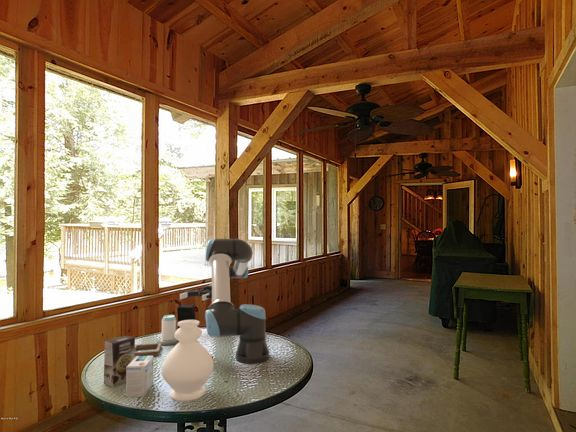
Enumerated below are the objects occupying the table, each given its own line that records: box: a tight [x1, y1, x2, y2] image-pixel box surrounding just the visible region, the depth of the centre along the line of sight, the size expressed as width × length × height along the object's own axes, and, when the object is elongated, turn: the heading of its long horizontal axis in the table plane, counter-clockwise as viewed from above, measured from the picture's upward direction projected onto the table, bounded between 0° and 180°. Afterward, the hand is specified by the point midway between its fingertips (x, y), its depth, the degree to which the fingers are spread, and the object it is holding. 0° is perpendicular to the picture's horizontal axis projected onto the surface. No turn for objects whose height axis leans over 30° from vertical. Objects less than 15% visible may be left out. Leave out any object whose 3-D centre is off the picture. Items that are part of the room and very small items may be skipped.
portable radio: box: [176, 303, 197, 345], centre depth 171 cm, size 8×6×25 cm
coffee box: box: [103, 335, 136, 388], centre depth 142 cm, size 9×6×16 cm
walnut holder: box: [135, 342, 162, 357], centre depth 174 cm, size 12×12×2 cm
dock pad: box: [155, 337, 177, 347], centre depth 190 cm, size 12×12×1 cm
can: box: [160, 314, 177, 341], centre depth 190 cm, size 7×7×12 cm
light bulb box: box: [125, 356, 154, 398], centre depth 134 cm, size 11×7×11 cm, turn 5°
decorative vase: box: [161, 320, 214, 402], centre depth 132 cm, size 18×18×25 cm
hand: (191, 297), depth 199 cm, fingers open, 13 cm apart
